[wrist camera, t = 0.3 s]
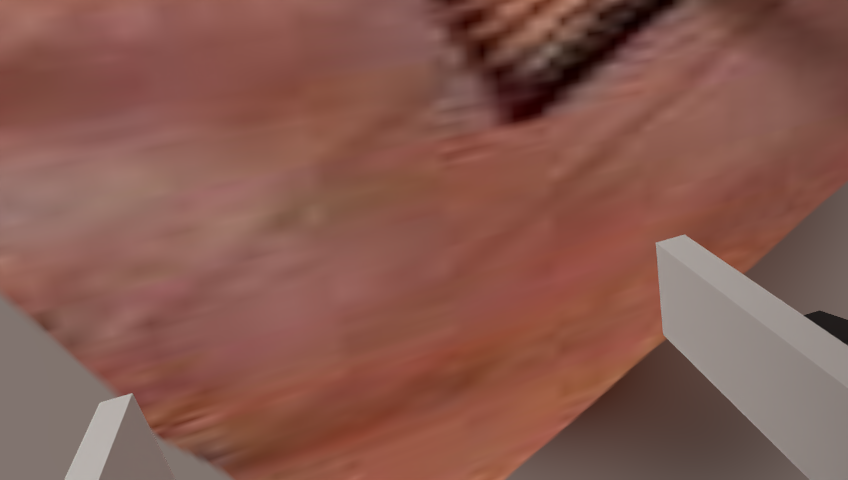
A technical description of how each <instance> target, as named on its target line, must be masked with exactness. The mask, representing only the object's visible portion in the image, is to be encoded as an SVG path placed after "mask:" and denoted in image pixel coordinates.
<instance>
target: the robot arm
mask: <svg viewBox="0 0 848 480" xmlns="http://www.w3.org/2000/svg"><path fill="white" fill-rule="evenodd" d="M656 250H657V263H658V275H659V288H660V300H661V313H662V325H663V335H664V336H665V337H666V338H667V339H668V340H669V341H670V342H671V343H672V344H673V345H674V346H675V347H676V348H677V349H678V350H679V351H680V352H681V353H682V354H683V355H684V356H685V357H686V358H688V360H689V361H690V362H691V363H692V364H694V366H696V367H697V369H699V370H700V371H701V372H702V373H703V374H704V375H705V376H706V377H707V378H708V379H709V380H710V381H711V382H712V383H713V384H714V385H715V386H716V387H717V388H718V389H719V390H720V391H721V392H722V393H723V394H724V395H725V396H726V397H727V398H728V399H729V400H730V401H731V402H732V403H733V404H734V405H735V406H736V407H737V408H738V409H739V410H740V411H741V412H742V413H743V414H744V415H745V416H746V417H747V418H748V419H749V420H750V421H751V422H752V423H753V424H754V425H755V426H756V427H757V428H758V429H759V430H760V431H761V432H762V433H763V434H764V435H765V436H766V437H767V438H768V439H769V440H770V441H771V442H772V443H773V444H774V445H775V446H776V447H777V448H778V449H779V450H780V451H781V452H782V453H783V454H784V455H785V456H786V457H787V458H788V459H789V460H790V461H791V462H792V463H793V464H794V465H795V466H796V467H797V468H798V469H799V470H800V471H801V472H802V473H803V474H804V475H805V476H806V477H807V478H808V479H809V480H848V320H846V319H843V318H840V317H837V316H834V315H831V314H828V313H825V312H822V311H817V312H813V313H810V314H807V315H802V314H800V313H799V312H797V311H796V310H795V309H793V308H792V307H790V306H789V305H787V304H786V303H784V302H783V301H781V300H780V299H778V298H777V297H775V296H774V295H772V294H771V293H770V292H768V291H767V290H765V289H764V288H762V287H761V286H759V285H758V284H756V283H755V282H753V281H752V280H750V279H749V278H747V277H746V276H745V275H743V274H742V273H740V272H739V271H737V270H736V269H734V268H733V267H731V266H730V265H728V264H727V263H725V262H724V261H722V260H721V259H720V258H718V257H717V256H715V255H714V254H712V253H711V252H709V251H708V250H706V249H705V248H703V247H702V246H700V245H699V244H697V243H696V242H695V241H693V240H692V239H690V238H689V237H687V236H686V235H681V236H678V237H674V238H671V239H668V240H664V241H661V242H657V243H656ZM65 480H176V479H175V477H174V475H173V473H172V471H171V469H170V467H169V466H168V463H167V461H166V459H165V457H164V455H163V453H162V451H161V449H160V447H159V445H158V443H157V441H156V439H155V437H154V435H153V433H152V431H151V429H150V427H149V425H148V423H147V421H146V419H145V417H144V415H143V413H142V411H141V409H140V407H139V405H138V403H137V401H136V399H135V397H134V395H133V393H132V394H128V395H125V396H121V397H118V398H114V399H111V400H108V401H104V402H100V403H99V405H98V408H97V410H96V412H95V414H94V416H93V418H92V421H91V423H90V425H89V427H88V430H87V432H86V434H85V436H84V438H83V440H82V443H81V445H80V447H79V449H78V451H77V453H76V456H75V458H74V460H73V462H72V464H71V467H70V469H69V471H68V473H67V475H66V477H65Z"/></svg>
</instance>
